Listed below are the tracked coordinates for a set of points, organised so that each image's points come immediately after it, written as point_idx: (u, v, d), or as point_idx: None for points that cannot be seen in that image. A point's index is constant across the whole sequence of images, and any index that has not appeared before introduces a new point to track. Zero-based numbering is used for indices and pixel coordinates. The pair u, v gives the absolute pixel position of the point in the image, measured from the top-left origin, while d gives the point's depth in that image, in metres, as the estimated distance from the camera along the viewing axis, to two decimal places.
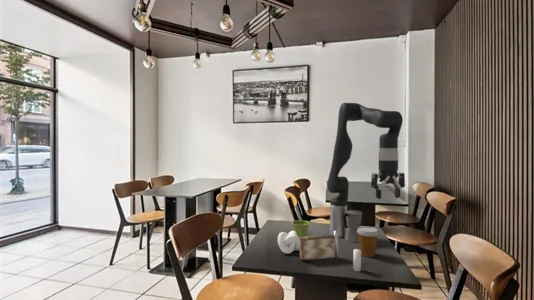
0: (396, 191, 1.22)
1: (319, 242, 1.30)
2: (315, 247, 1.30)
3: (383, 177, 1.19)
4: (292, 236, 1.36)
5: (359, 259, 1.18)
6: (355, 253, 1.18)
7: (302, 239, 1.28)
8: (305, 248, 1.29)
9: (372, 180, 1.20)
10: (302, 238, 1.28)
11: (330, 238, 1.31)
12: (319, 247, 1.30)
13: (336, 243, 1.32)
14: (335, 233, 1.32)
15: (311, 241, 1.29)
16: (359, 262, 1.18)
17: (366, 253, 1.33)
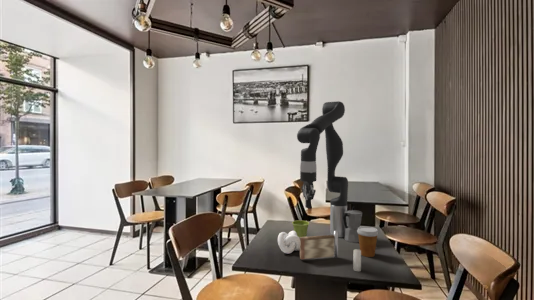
0: None
1: (319, 242, 1.30)
2: (315, 247, 1.30)
3: None
4: (292, 236, 1.36)
5: (359, 259, 1.18)
6: (355, 253, 1.18)
7: (302, 239, 1.28)
8: (305, 248, 1.29)
9: (310, 195, 1.31)
10: (302, 238, 1.28)
11: (330, 238, 1.31)
12: (319, 247, 1.30)
13: (336, 243, 1.32)
14: (335, 233, 1.32)
15: (311, 241, 1.29)
16: (359, 262, 1.18)
17: (366, 253, 1.33)
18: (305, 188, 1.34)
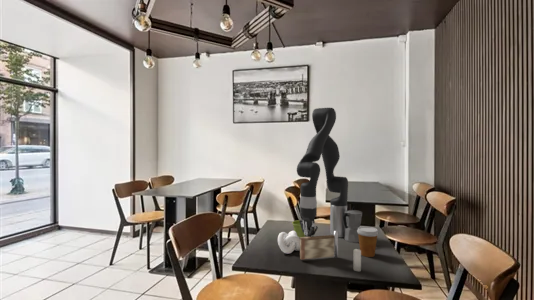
0: None
1: (319, 242, 1.30)
2: (315, 247, 1.30)
3: None
4: (292, 236, 1.36)
5: (359, 259, 1.18)
6: (355, 253, 1.18)
7: (302, 239, 1.28)
8: (305, 248, 1.28)
9: (312, 232, 1.28)
10: (302, 238, 1.28)
11: (330, 238, 1.31)
12: (319, 247, 1.30)
13: (336, 243, 1.32)
14: (335, 233, 1.32)
15: (311, 241, 1.29)
16: (359, 262, 1.18)
17: (366, 253, 1.33)
18: (306, 224, 1.31)
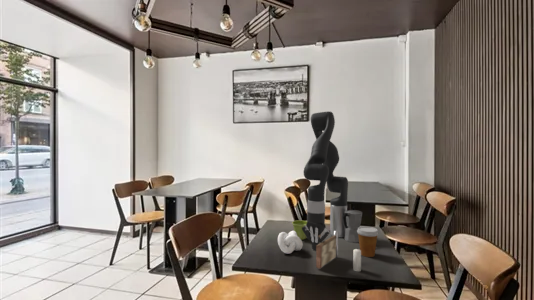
0: None
1: (329, 246, 1.26)
2: (326, 252, 1.24)
3: None
4: (292, 236, 1.36)
5: (359, 259, 1.18)
6: (355, 253, 1.18)
7: (320, 246, 1.19)
8: (321, 255, 1.20)
9: (325, 237, 1.22)
10: (320, 245, 1.19)
11: (334, 239, 1.30)
12: (329, 251, 1.26)
13: (336, 243, 1.32)
14: (335, 233, 1.32)
15: (324, 246, 1.23)
16: (359, 262, 1.18)
17: (366, 253, 1.33)
18: (317, 230, 1.22)
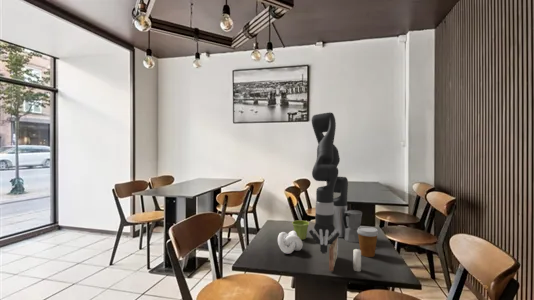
0: None
1: (335, 247, 1.25)
2: (334, 253, 1.23)
3: None
4: (292, 236, 1.36)
5: (359, 259, 1.18)
6: (355, 253, 1.18)
7: (333, 248, 1.17)
8: None
9: None
10: (332, 247, 1.17)
11: (336, 239, 1.29)
12: (335, 252, 1.25)
13: None
14: None
15: (334, 248, 1.21)
16: (359, 262, 1.18)
17: (366, 253, 1.33)
18: (327, 232, 1.19)
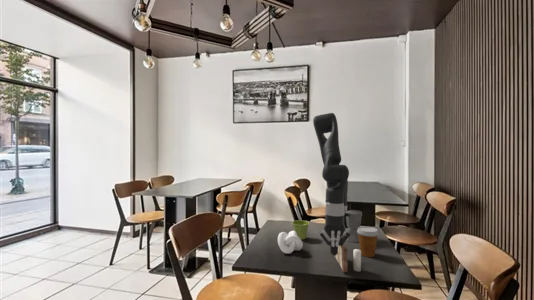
0: None
1: None
2: None
3: None
4: (292, 236, 1.36)
5: (359, 259, 1.18)
6: (355, 253, 1.18)
7: (346, 249, 1.16)
8: None
9: None
10: (346, 248, 1.16)
11: None
12: None
13: None
14: None
15: None
16: (359, 262, 1.18)
17: (366, 253, 1.33)
18: (339, 233, 1.18)
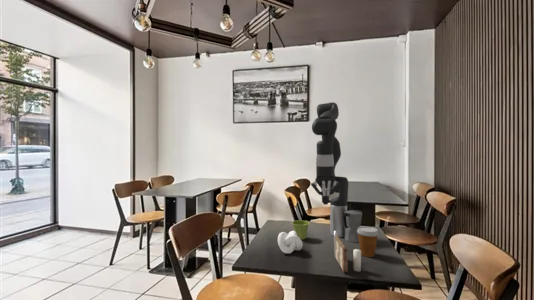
0: None
1: None
2: None
3: None
4: (292, 236, 1.36)
5: (359, 259, 1.18)
6: (355, 253, 1.18)
7: (346, 249, 1.16)
8: None
9: None
10: (346, 248, 1.16)
11: None
12: None
13: None
14: (335, 233, 1.32)
15: None
16: (359, 262, 1.18)
17: (366, 253, 1.33)
18: (330, 183, 1.25)
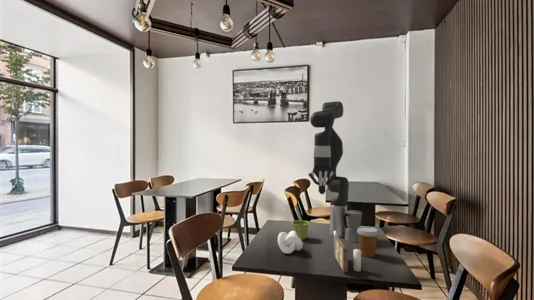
0: None
1: None
2: None
3: None
4: (292, 236, 1.36)
5: (359, 259, 1.18)
6: (355, 253, 1.18)
7: (346, 249, 1.16)
8: None
9: None
10: (346, 248, 1.16)
11: None
12: None
13: None
14: (335, 233, 1.32)
15: None
16: (359, 262, 1.18)
17: (366, 253, 1.33)
18: (326, 173, 1.31)
